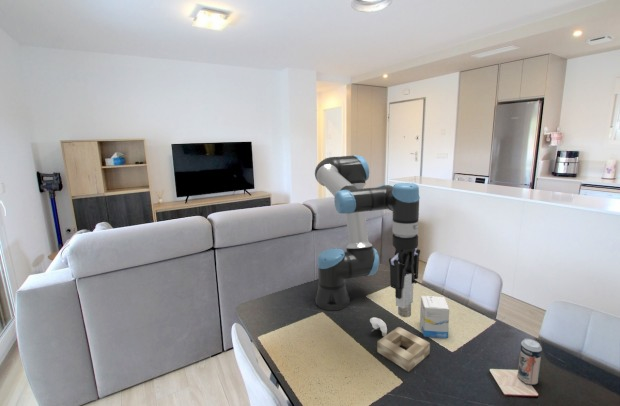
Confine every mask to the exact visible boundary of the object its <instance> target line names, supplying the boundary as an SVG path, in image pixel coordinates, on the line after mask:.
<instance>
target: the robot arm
mask: <svg viewBox="0 0 620 406" xmlns="http://www.w3.org/2000/svg"><path fill="white" fill-rule="evenodd" d="M314 177H315V180H316V181H317V183H319V184H320V185H321V186H323V187H325V188H326V189H327V190H328V191H329V192H330V194H331V195H332V196H333V197H334V198H333V199H334V207H335V209H336V212H337V213H339V214H345V217H346V226H347V234H348V235H347V236H348V244H347V245H346V247H345V251H344V249H341V248H328V249H326V250H323V251H321V252H320V253H319V254H318V256H317V272H318V273H317V274H318V275H317V276H318V288H317V292H316V294H315V305H316V306H317V305H318V306H317V307H319V308H320V309H323V310H326V311H339V310H343V309H345V308H347V307H348V306H349V304H350V294H349V292H348V289H347V287H346V280H348V279H354V278H361V277H368V276H373V275H375V274H376V273H377V272H378V269H379V265H380V256H379V253H378V251H377V249H376V248H374V247H373V244H372V243H371V242H370V241H369V236H368V235H369V233H368V225H367V217H366V212H372V211H373V212H374V211H385V210H388V211H391V212H392V228H391V229H392V230H391V231H392V246H393V247H394V249H395V250H394V251H395V252H394V256H393V257H392V258H391V257H390V258H389V259H388V263H389V275H390V278H389V279H390V288H392V289H394V290H395V291H394V293H395V294H394V295H395V306H396V307H397V308H398V307H400V308H404V306H405V289H404V288H403V284H404V276H405V271H409V272H411V273H412V285H411V304H413V303H414V284H415V285H416V284H417V283H418V281H417V280H418V278H419V266H420V264H419V263H420V262H419V261H420V254H421V250H420V249H418V247H419V235H418V234H419V227H420V226H419V217H420V215H419V214H420V213H419V211H420V188H419V185H418V184H416V183H411V182H401V183H400V182H399V183H395V184H393V185H390V184H382V185H381V184H380V185H379V186H377V187H368V188H367V187H366V188H364V187H365V185H366V181H368V180H369V178H370V167H369V164H368V161H367V159H366V158H365V157H364V156H361V155H354V154H353V155H345V156H344V155H342V156H329V157H326V158H324V159H323V160H321V161H320V162H319V163H318V164H317V166H316V168H315V170H314Z"/></svg>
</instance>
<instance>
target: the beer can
mask: <svg viewBox="0 0 620 406" xmlns="http://www.w3.org/2000/svg"><path fill="white" fill-rule="evenodd" d="M542 352H543V348H542V345H541V344H540V343H539V342H538V341H537V340H534V339H532V338H524V339H523V340H521V342H520V350H519V360H518V368H517V369H518V370H517V377H518V379H520V381H521V382H524V383H526V384H527V383H528V385H537V384H538V383H539V375H540V369H541V367H540V366H541V358H542Z"/></svg>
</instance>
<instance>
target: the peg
mask: <svg viewBox="0 0 620 406" xmlns="http://www.w3.org/2000/svg"><path fill="white" fill-rule="evenodd" d="M411 285H412V273H411V272H409V271H405V276H404V284H403V288H404V289H405V306H404V308H400V307H398V306H397V315H399V316H400V317H402V318H410V317H411V315H412V303H411Z"/></svg>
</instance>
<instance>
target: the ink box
mask: <svg viewBox="0 0 620 406" xmlns="http://www.w3.org/2000/svg"><path fill="white" fill-rule="evenodd" d="M449 321H450V308H449V305H448V303H447V300H446V297H444V296H436V295H435V296H433V295H431V296H430V295H420V312H419V325H420V328H421V331H422V335H423V337H425V338H427V337H428V338H436V339H437V338H439V339H448V338H449V325H450V324H449Z"/></svg>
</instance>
